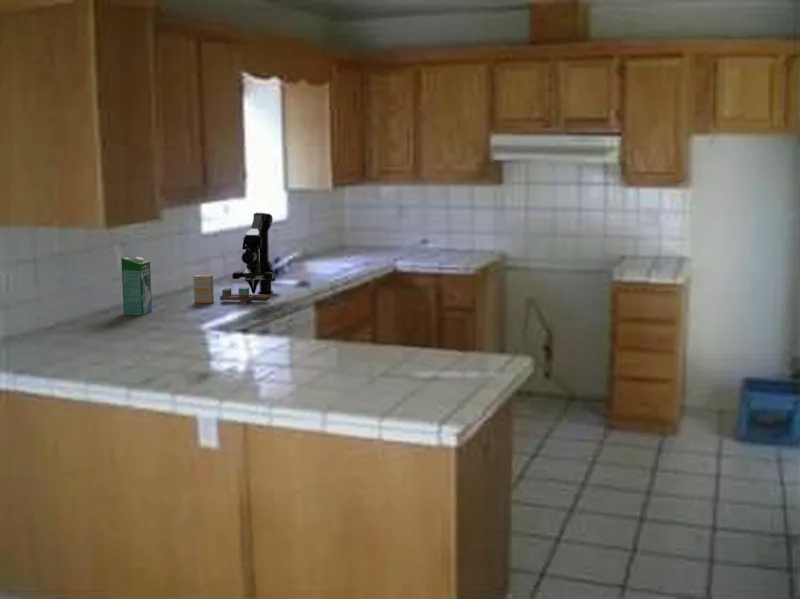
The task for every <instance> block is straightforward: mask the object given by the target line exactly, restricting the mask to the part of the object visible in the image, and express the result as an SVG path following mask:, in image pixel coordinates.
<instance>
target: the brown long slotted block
mask: <svg viewBox="0 0 800 599" xmlns="http://www.w3.org/2000/svg"><path fill="white" fill-rule="evenodd" d="M221 291H222V294H221V295H220V296H219V301H232V302H233V301H237V304H238V305H250V303H252V302H267V301H268V300H269V299H270V294H259V293H257V294H253V293H252V294H250V293H249V294H248V296H240V295H239V293H232V287H224V288H223V289H222V290H221ZM238 301H239V302H238ZM251 301H252V302H251Z"/></svg>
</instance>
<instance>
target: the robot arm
mask: <svg viewBox="0 0 800 599" xmlns="http://www.w3.org/2000/svg"><path fill="white" fill-rule="evenodd" d="M273 219H274V218H273V215H272V214H270V213H266V212H262V211H259V212H258V211H256V212H254V213H253V218H252V224H251V225H250V229H249V230H248V231H246V233H245V235H244V236H243V241H242V250H245V252H243V253H242V254H241V261H242V262H243V263H244V264H245V265H246V268H245V270H244V271H240V270H239V271H234V272H233V273H232V276H231V277H232V280H239V279H241V278H244V282H247V283H248V285H249V289H250V290H251V292H252V294H255V293H256V291H257V288H258V285H259V291H258V292H257V294H259V295H270V293H271V294H272V293H273V292H274V291H273V290H272V282H275V281H276V275H275V271H274V269H273V265H272V263H271V261H270V256H269V251H270V249H269V231H270V229H271V227H272V223H273V221H274V220H273Z"/></svg>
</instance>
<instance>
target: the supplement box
mask: <svg viewBox="0 0 800 599" xmlns="http://www.w3.org/2000/svg"><path fill="white" fill-rule="evenodd" d="M192 277H193V280H192V281H193V301H194V303H193V304H208V305H209V304H212V303H214V302H215V301H214V300H215V296H214V275H213V274H195V275H193V276H192Z"/></svg>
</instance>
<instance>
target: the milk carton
mask: <svg viewBox="0 0 800 599" xmlns="http://www.w3.org/2000/svg"><path fill="white" fill-rule="evenodd" d="M120 262H121V279H122V280H121V283H122V301H123V304H122V305H123V306H122V307H123V315H127V316H128V315H129V316H130V315H131V316H144V315H146V314H149V313H151V312H153V305H152V304H153V302H152V280H151V277H152V276H151V261H149V260H147V259H145V258H144V257H141V256H134V255H128V256H125V257H121V260H120Z"/></svg>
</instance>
